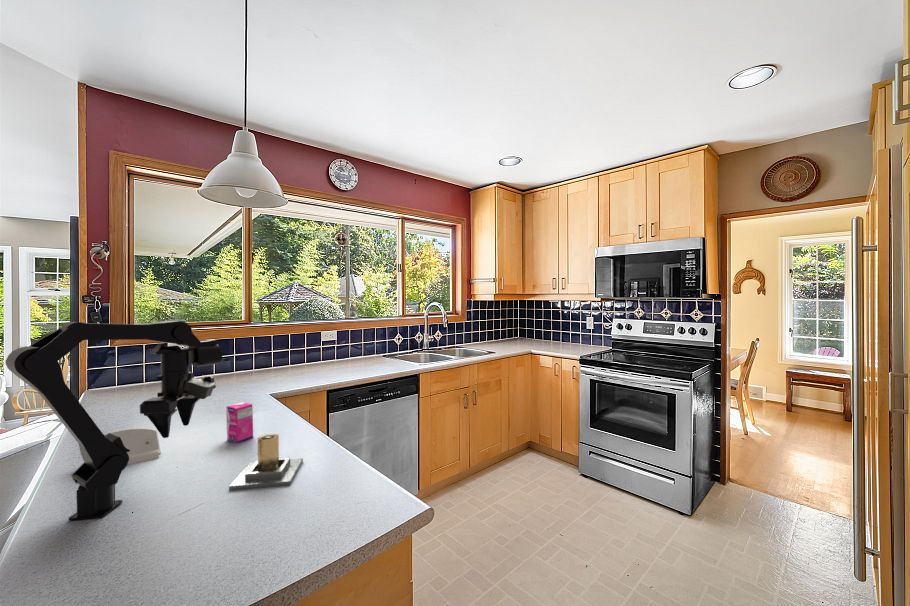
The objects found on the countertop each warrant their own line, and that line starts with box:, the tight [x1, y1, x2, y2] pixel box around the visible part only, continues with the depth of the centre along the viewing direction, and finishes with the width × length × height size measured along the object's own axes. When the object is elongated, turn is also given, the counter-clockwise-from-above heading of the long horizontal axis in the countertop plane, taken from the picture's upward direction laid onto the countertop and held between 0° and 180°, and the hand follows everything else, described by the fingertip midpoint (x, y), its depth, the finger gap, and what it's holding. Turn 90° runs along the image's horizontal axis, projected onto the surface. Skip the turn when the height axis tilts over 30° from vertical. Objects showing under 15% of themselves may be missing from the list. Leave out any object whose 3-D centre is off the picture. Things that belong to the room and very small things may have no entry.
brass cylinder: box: [256, 433, 280, 472], centre depth 101 cm, size 5×5×9 cm
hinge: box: [104, 427, 162, 466], centre depth 111 cm, size 17×5×10 cm, turn 126°
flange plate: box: [228, 457, 304, 491], centre depth 101 cm, size 14×14×2 cm
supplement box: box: [225, 401, 254, 444], centre depth 128 cm, size 6×6×12 cm
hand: (176, 431), depth 98 cm, fingers open, 9 cm apart
